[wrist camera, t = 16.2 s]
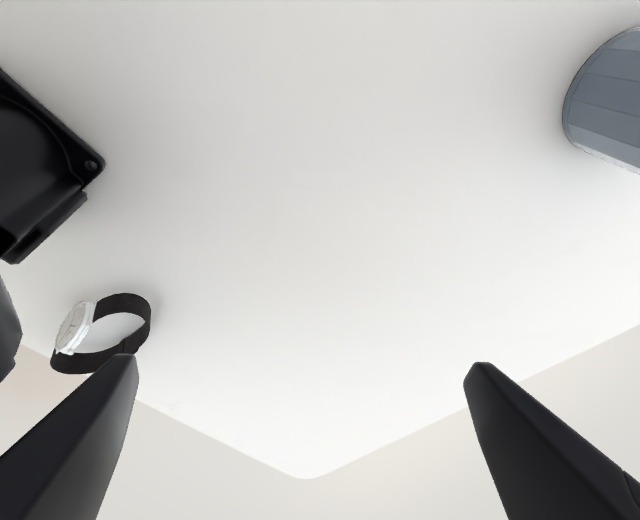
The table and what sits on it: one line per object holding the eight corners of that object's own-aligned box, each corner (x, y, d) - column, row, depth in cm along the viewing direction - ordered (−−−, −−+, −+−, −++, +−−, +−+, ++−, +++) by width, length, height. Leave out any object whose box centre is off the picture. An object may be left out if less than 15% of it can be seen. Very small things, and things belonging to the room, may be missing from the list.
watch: (114, 269, 22) (88, 308, 19) (176, 310, 24) (162, 350, 21) (44, 331, 24) (12, 375, 21) (107, 363, 26) (86, 407, 23)
